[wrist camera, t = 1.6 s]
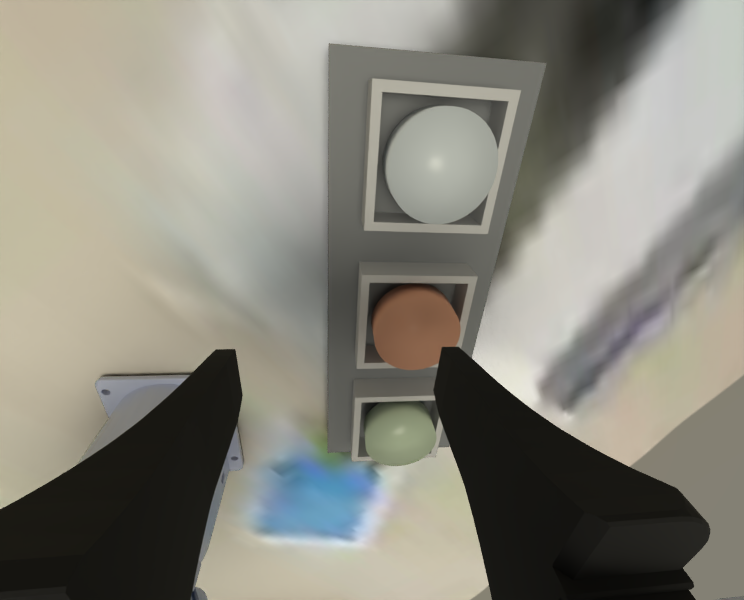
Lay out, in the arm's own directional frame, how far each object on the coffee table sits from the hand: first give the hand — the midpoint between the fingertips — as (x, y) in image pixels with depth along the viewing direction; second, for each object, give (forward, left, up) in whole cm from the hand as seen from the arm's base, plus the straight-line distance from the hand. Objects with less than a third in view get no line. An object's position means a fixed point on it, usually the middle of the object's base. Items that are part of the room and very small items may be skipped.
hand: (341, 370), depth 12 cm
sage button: (-10, -4, -6) cm, 13 cm away
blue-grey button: (+6, -4, -6) cm, 10 cm away
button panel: (-2, -4, -9) cm, 10 cm away
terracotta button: (-2, -4, -6) cm, 8 cm away
